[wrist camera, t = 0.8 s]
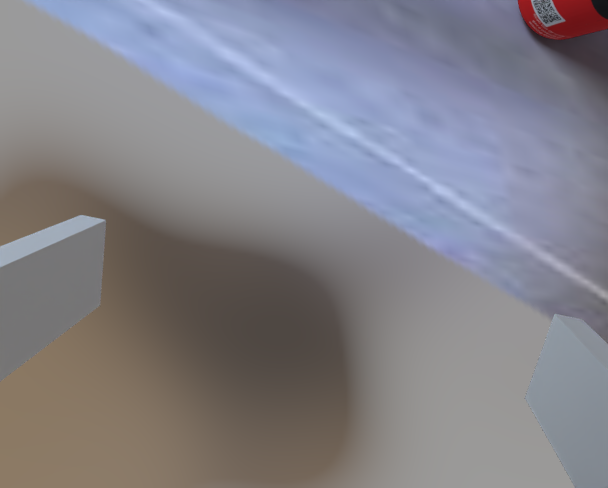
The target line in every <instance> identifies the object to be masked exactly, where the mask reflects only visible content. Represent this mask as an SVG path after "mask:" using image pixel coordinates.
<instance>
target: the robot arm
mask: <svg viewBox="0 0 608 488" xmlns="http://www.w3.org/2000/svg"><path fill="white" fill-rule="evenodd" d="M105 227H106V220H103V219H98V218H93V217H88V216H84V215H80V216H77V217H75V218H72V219H69V220H67V221H64V222H62V223H59V224H57V225H54V226H51V227H49V228H46V229H44V230H41V231H39V232H36V233H34V234H31V235H28V236H26V237H23V238H21V239H18V240H16V241H13V242H10V243H8V244H5V245H3V246H0V381H1V380H3V379H4V378H5V377H7V376H8V375H9V374H11V373H12V372H13V371H15V370H16V369H17V368H18V367H20V366H21V365H22V364H24V363H25V362H26V361H28V360H29V359H30V358H32V357H33V356H34V355H35V354H37V353H38V352H39V351H41V350H42V349H43V348H45V347H46V346H47V345H49V344H50V343H51V342H52V341H54V340H55V339H56V338H58V337H59V336H60V335H61V334H63V333H64V332H66V331H67V330H68V329H70V327H72V326H74V325H75V324H76V323H77V322H79V321H80V320H81V319H83V318H84V317H85V316H87V315H88V314H89V313H90V312H92V311H93V310H94V309H96V308H97V307H98V306H100V298H101V283H102V269H103V256H104V255H103V254H104V242H105ZM525 399H526V401H527V403H528V405H529V406H530V408H531V410H532V411H533V414H534V415H535V417H536V419H537V420H538V422H539V424H540V426H541V428H542V430H543V431H544V433H545V435H546V437H547V438H548V440H549V442H550V444H551V445H552V447H553V449H554V451H555V452H556V454H557V456H558V458H559V459H560V461H561V463H562V465H563V467H564V469H565V470H566V472H567V474H568V476H569V477H570V479H571V481H572V483H573V485H574V486H575V488H608V344H607V343H606V342H605V341H604V340H603V339H602V338H601V337H600V336H599V335H598V334H597V333H596V332H595V331H594V330H593V329H592V328H591V327H590V326H589V325H588V324H587V323H585V322H584V321H583V320H582V319H578V318H573V317H568V316H563V315H559V314H554V317H553V320H552V323H551V326H550V328H549V332H548V334H547V337H546V340H545V343H544V345H543V348H542V351H541V354H540V357H539V359H538V363H537V365H536V368H535V371H534V374H533V376H532V379H531V382H530V385H529V388H528V391H527V393H526V396H525Z"/></svg>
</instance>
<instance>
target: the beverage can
mask: <svg viewBox="0 0 608 488" xmlns="http://www.w3.org/2000/svg"><path fill="white" fill-rule="evenodd" d="M518 5H519V9H520V12H521V14H522V17H523V19H524V20H525V22H526V23H527V25H528V26H529V27H530V28H531V29H532V30H533V31H534V32H536V33H537V34H539V35H541V36H543V37H546V38H550V39H555V40H563V39H569V38H573V37H577V36H581V35H585V34H589V33H593V32H597V31H601V30H605V29H608V0H518Z"/></svg>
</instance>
